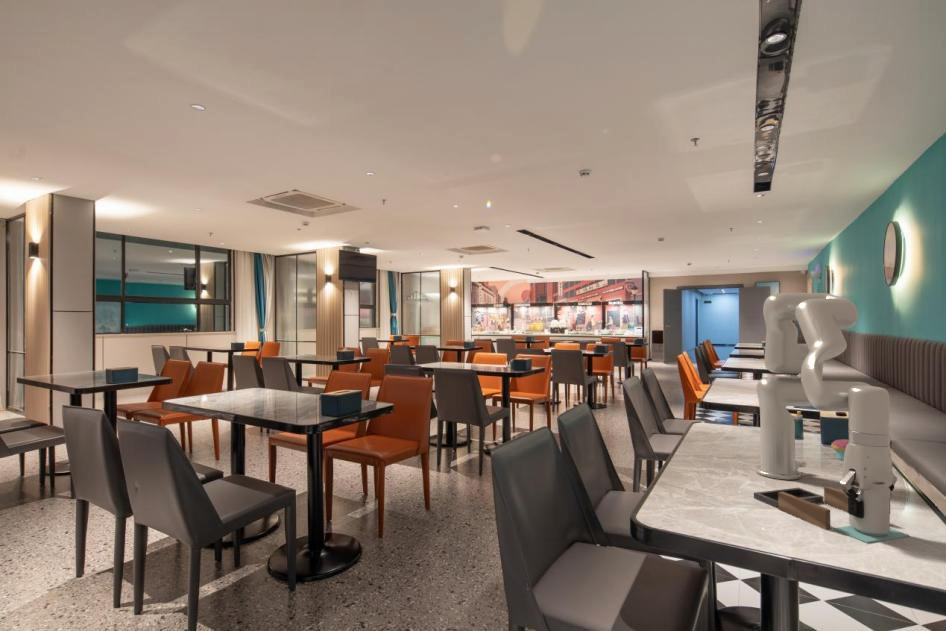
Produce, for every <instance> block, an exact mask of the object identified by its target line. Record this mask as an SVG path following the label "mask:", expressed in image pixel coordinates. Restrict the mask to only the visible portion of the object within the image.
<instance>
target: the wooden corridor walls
mask: <svg viewBox="0 0 946 631" xmlns="http://www.w3.org/2000/svg"><path fill="white" fill-rule="evenodd" d="M823 496H824V502H823V504H824V503H825V505H827V504H828V505H827V506H829V505H830V507H832V506H833V507H832V508H834V507H835V508H834V509H837V508H838V510H840V511H842V510H843V511H842V512H845V513H848V497H846V494H845V492H844V491H843V490H841V489H836V488H834V487H831V486H824V487H823ZM778 510H779V511H781V512H784V513H786V514H788V515H791V516H793V517H796V518H798V519H799V520H802V521H805V522H807V523H809V524H812V525H814V526H816V527H819V528H821V529H824V530H826V531H827V530H831V510H830V509H829V508H826V507H824V506H821V505H818V504H817V503H811V502H808V501H806V500H803V499H800V498H798V497H795V496H793V495H790V494H787V493H785V492H778Z"/></svg>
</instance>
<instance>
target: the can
mask: <svg viewBox="0 0 946 631" xmlns="http://www.w3.org/2000/svg"><path fill="white" fill-rule="evenodd" d="M855 485H856V486H859V484H857V483H855ZM885 485H886V483H884V484H872V487H871V488H870V489H868V490H864V494H863V497H862V499H861V501H864V518H858V517H856V516H853V515H850V514H849V513H848V523H849V526H852V527H853V528H854V529H855V530H857V531H859V532H861V533H864V534H868V535H873V536H884V535H886V534H887V533H889V532H890V528H891V519H890V518H891V516H890V515H891V497H890V490H889V489H888V488H887V487H886V486H885ZM858 490H859V489H856V488H854V491H855V492H856V493H857V492H858Z"/></svg>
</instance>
